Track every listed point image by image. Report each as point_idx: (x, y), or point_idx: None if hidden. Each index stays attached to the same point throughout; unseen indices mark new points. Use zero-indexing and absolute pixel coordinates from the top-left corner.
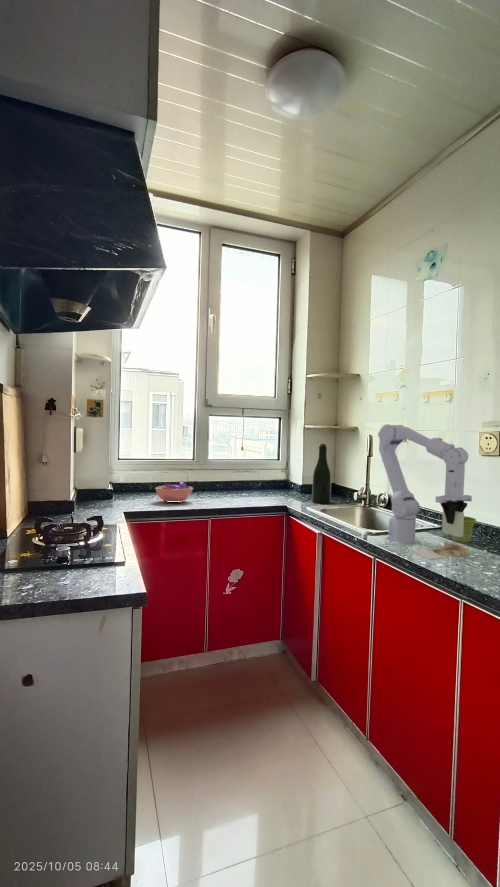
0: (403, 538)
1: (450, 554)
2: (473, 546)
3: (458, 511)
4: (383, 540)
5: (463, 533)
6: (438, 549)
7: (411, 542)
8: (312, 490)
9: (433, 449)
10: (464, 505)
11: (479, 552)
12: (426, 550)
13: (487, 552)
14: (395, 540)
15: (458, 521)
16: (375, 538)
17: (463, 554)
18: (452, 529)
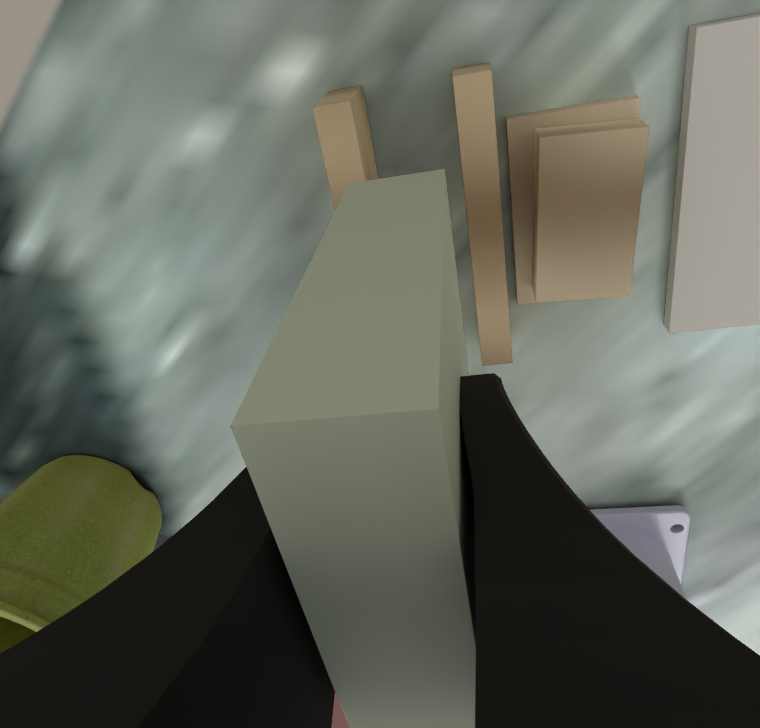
0: (664, 563)
1: (535, 129)
2: (77, 363)
3: (283, 583)
4: (742, 606)
5: (76, 515)
6: (618, 234)
7: (599, 514)
8: None
9: None
10: (49, 714)
11: (119, 191)
12: (694, 292)
13: (33, 177)
14: (682, 577)
15: (445, 298)
16: (755, 648)
17: (366, 119)
18: (460, 327)
